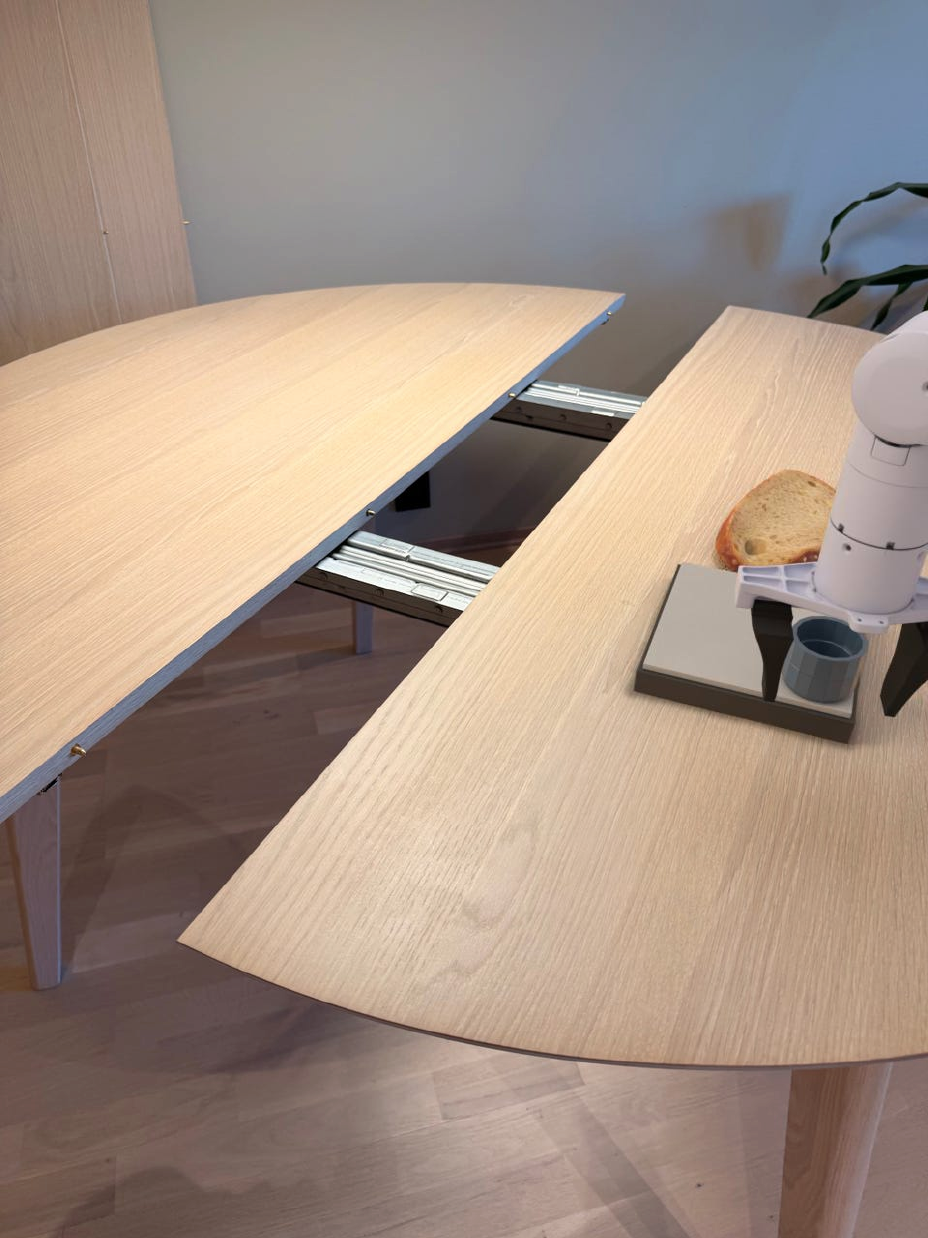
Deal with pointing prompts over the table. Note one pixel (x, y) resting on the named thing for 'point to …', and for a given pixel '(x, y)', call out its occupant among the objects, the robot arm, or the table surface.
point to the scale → (726, 659)
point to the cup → (824, 659)
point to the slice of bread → (777, 522)
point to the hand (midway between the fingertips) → (827, 699)
